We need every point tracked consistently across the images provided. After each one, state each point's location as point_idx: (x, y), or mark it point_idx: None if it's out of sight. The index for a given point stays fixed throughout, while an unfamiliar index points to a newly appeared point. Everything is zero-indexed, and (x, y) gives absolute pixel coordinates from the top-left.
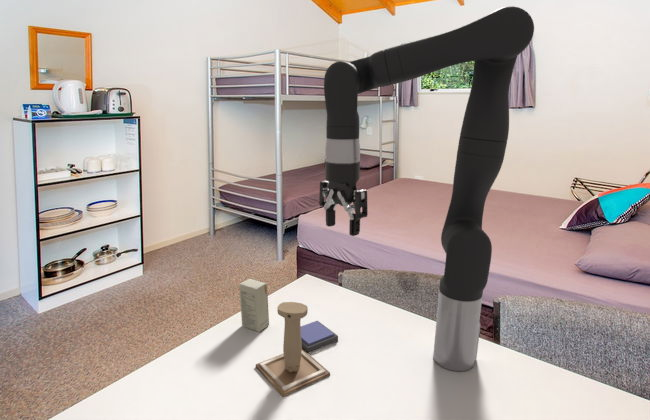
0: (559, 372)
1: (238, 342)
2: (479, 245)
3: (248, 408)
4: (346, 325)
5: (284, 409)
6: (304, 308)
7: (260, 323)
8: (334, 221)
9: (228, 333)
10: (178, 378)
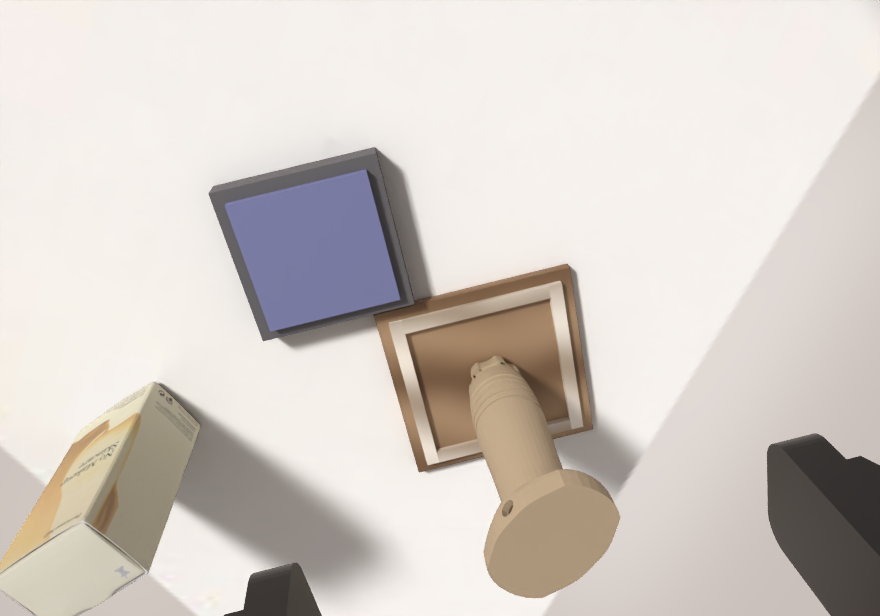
0: None
1: (251, 495)
2: None
3: None
4: (253, 44)
5: (638, 430)
6: (587, 501)
7: (187, 438)
8: (291, 608)
9: (177, 518)
10: None
